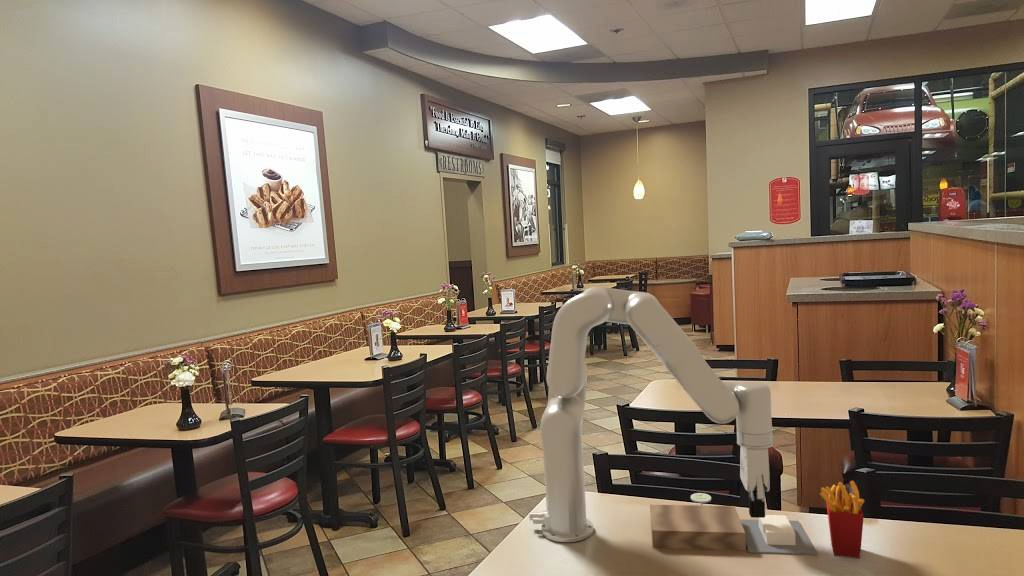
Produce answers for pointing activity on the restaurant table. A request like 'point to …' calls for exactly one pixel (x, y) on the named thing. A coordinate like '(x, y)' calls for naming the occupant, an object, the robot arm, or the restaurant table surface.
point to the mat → (758, 545)
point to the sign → (701, 498)
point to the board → (696, 527)
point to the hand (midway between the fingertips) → (757, 515)
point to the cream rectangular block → (777, 530)
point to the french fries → (844, 520)
